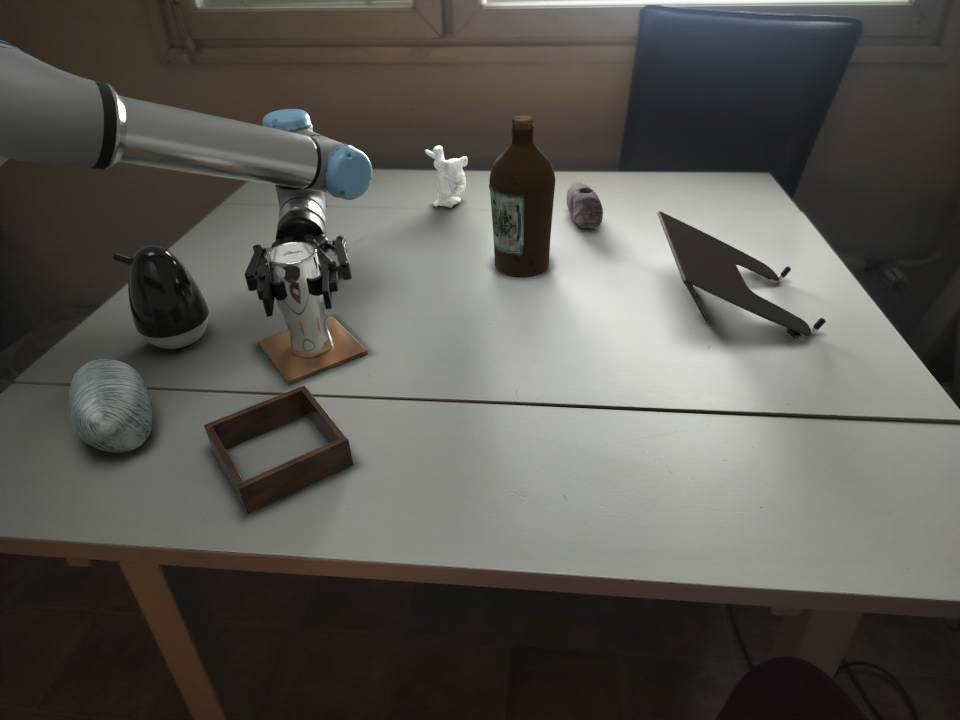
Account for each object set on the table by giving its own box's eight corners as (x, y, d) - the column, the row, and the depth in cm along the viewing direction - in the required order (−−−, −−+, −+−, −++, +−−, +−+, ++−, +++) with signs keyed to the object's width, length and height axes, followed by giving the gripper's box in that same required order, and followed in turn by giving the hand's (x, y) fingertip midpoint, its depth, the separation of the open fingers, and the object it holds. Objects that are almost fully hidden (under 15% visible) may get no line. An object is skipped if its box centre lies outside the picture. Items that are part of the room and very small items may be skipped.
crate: (247, 514, 71) (238, 488, 69) (212, 449, 80) (203, 424, 78) (353, 465, 77) (348, 439, 75) (310, 409, 86) (304, 384, 83)
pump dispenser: (160, 321, 105) (127, 231, 96) (225, 320, 104) (198, 230, 95) (130, 358, 96) (91, 264, 88) (200, 358, 96) (168, 264, 87)
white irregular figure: (427, 210, 137) (422, 152, 130) (431, 197, 143) (427, 141, 136) (468, 210, 136) (465, 151, 129) (470, 197, 142) (468, 141, 135)
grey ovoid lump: (92, 409, 89) (29, 379, 80) (149, 362, 90) (92, 327, 81) (130, 481, 82) (65, 457, 73) (191, 429, 83) (134, 400, 74)
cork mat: (288, 384, 90) (287, 381, 90) (257, 345, 98) (257, 341, 98) (367, 353, 96) (367, 350, 95) (332, 318, 104) (332, 315, 103)
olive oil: (518, 245, 122) (518, 104, 108) (564, 262, 116) (571, 115, 102) (478, 266, 116) (473, 120, 102) (525, 285, 110) (526, 133, 96)
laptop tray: (790, 381, 96) (836, 334, 91) (655, 320, 92) (694, 267, 87) (749, 300, 115) (784, 257, 110) (634, 246, 111) (666, 199, 105)
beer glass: (331, 359, 94) (312, 263, 85) (282, 360, 94) (257, 265, 85) (339, 331, 99) (322, 239, 91) (293, 333, 99) (271, 241, 91)
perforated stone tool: (559, 205, 137) (561, 172, 133) (585, 203, 137) (587, 170, 133) (575, 236, 125) (578, 200, 121) (603, 234, 125) (606, 198, 121)
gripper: (368, 245, 109) (377, 318, 90) (242, 260, 106) (226, 337, 88) (361, 202, 104) (370, 269, 86) (230, 215, 102) (210, 288, 83)
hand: (297, 303), depth 87 cm, fingers closed on beer glass, 7 cm apart
